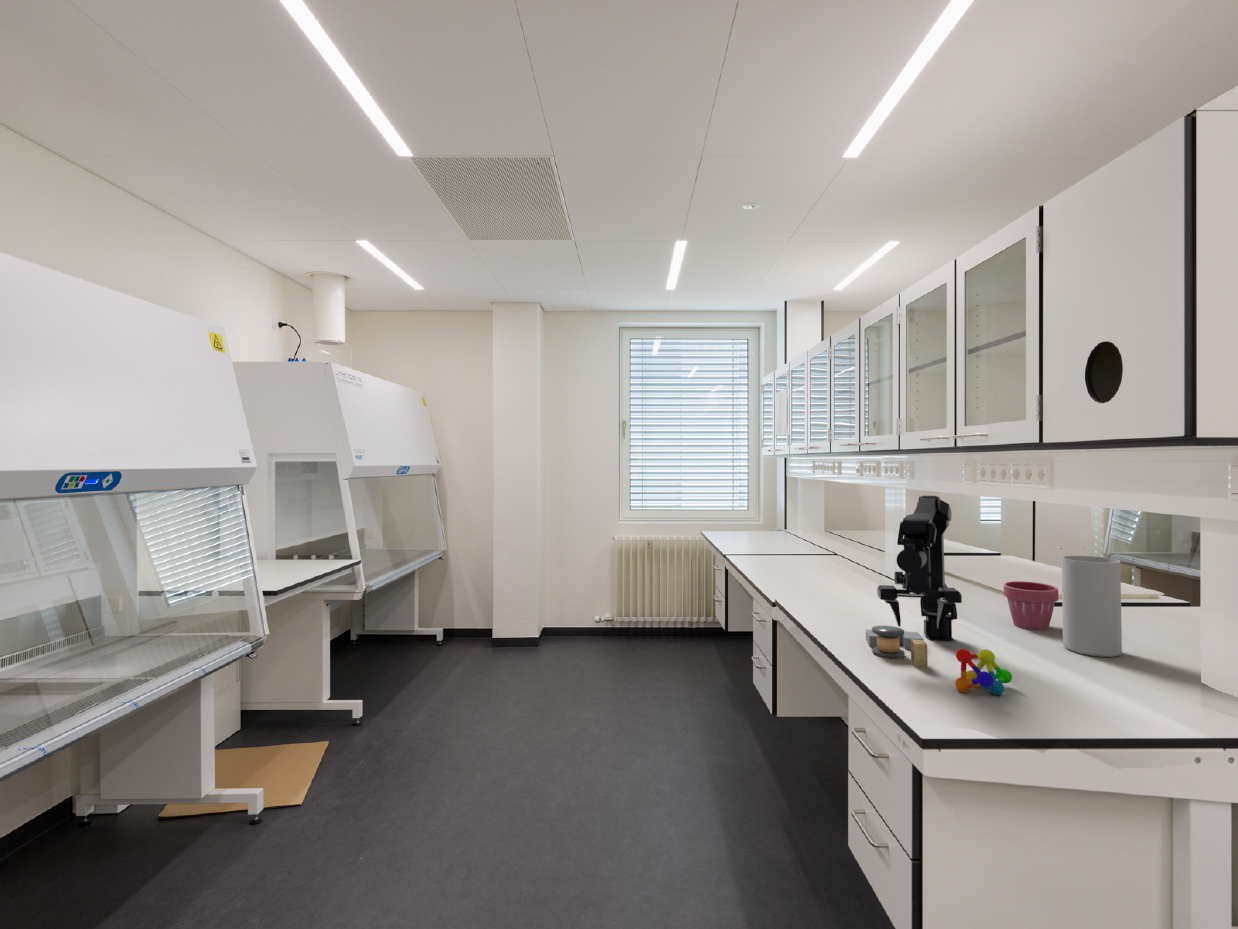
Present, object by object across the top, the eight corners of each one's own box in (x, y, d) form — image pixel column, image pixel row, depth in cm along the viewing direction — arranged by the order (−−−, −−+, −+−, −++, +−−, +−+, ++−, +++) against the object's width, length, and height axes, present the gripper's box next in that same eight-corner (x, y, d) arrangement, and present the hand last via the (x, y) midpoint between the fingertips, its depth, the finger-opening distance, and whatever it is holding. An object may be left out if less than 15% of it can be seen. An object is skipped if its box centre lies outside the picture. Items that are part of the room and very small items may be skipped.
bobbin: (901, 650, 163) (900, 626, 163) (907, 659, 155) (907, 634, 155) (870, 648, 165) (869, 624, 165) (874, 657, 157) (874, 632, 157)
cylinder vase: (1134, 656, 155) (1132, 561, 155) (1096, 660, 153) (1094, 563, 153) (1087, 642, 167) (1086, 554, 167) (1051, 645, 165) (1050, 556, 165)
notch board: (917, 642, 169) (917, 632, 169) (923, 650, 163) (923, 639, 163) (865, 639, 173) (865, 629, 173) (869, 646, 166) (869, 636, 166)
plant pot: (1044, 635, 175) (1043, 592, 175) (994, 624, 187) (994, 584, 187) (1068, 628, 182) (1067, 586, 182) (1019, 618, 194) (1018, 579, 194)
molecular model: (1020, 715, 129) (985, 683, 124) (972, 709, 138) (938, 679, 132) (1023, 667, 135) (990, 635, 130) (978, 664, 143) (945, 634, 138)
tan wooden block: (923, 663, 152) (923, 640, 152) (927, 668, 148) (927, 644, 148) (911, 662, 153) (910, 639, 153) (914, 667, 149) (914, 643, 149)
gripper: (949, 562, 156) (950, 621, 156) (873, 560, 161) (874, 617, 161) (961, 570, 145) (962, 632, 145) (880, 567, 150) (881, 628, 150)
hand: (918, 627), depth 151 cm, fingers open, 9 cm apart
